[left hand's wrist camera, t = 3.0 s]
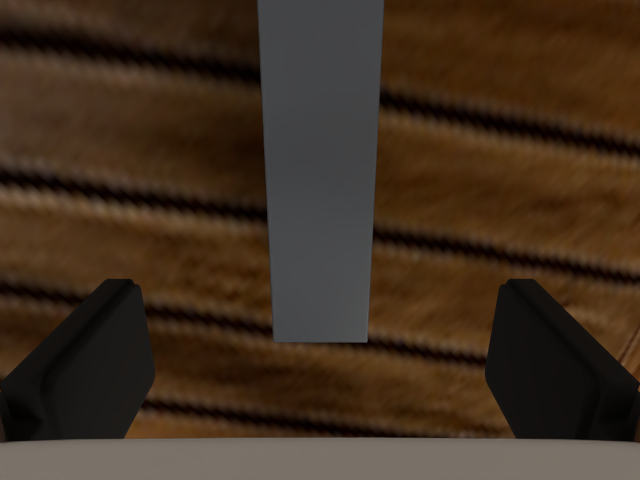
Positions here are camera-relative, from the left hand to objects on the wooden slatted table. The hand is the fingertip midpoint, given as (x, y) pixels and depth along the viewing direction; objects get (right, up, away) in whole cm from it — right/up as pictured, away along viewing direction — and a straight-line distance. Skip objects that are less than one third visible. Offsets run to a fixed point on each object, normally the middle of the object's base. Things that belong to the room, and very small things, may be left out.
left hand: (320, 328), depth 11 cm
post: (0, +30, +7) cm, 31 cm away
